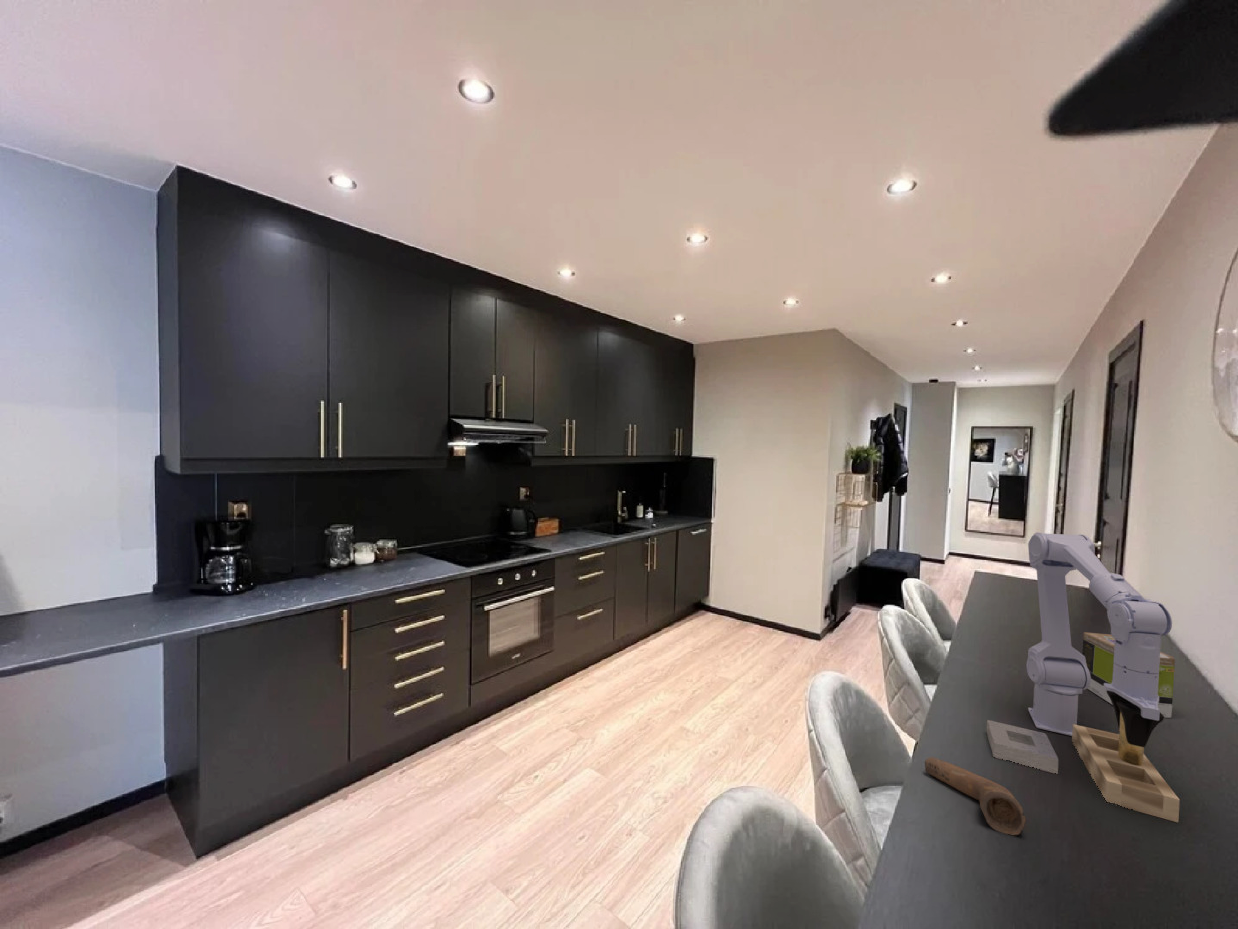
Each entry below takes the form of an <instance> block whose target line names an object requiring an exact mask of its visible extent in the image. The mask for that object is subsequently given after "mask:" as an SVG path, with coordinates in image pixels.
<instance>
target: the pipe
mask: <svg viewBox="0 0 1238 929" xmlns="http://www.w3.org/2000/svg"><path fill="white" fill-rule="evenodd" d="M924 768H925V771H926V772H927V773H928V774H929V775H930V776H932V777H934V778H935V779H937V780H939V781H941V782H943V783H945V784H947V785H948V786H950V787H952V788H954V789H955V790H957V791H959V792H960V793H962V794H965V795H966V796H969V797H971V798H973V799H975V800H976V801H979V808H980V810H981V811H982V814H983V815H984V818H985V821H986V823H987V824H988V825H989V826H990V828H992V830H994V831H996V832H998V831H999V832H998V833H1000V832H1002V833H1001V834H1004V833H1005V834H1004V835H1007V834H1010V835H1009V836H1018V835H1020V834H1021V832H1022V831H1023V829H1024V828H1025V826H1026V823H1027V817H1026V815H1025V813H1024V809H1023V806H1022V805H1021V804H1020V802H1019V801H1018V800H1017V799H1016V797H1015V796H1014V794H1013V793H1012V792H1011V791H1010V790H1008V789H1007V788H1006V787H1005V786H1003V785H1001V784H999V783H997V782H994V781H992V780H990V779H988V778H985V777H983V776H981V775H978V774H976V773H974V772H971V771H970V770H967V769H965V768H962V767H960V766H958V765H956V764H952V763H950V762H947V761H945V760H941V759H938V758H937V757H933V756H931V757H928V758H927V759H926V760H924Z"/></svg>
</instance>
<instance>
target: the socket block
mask: <svg viewBox="0 0 1238 929" xmlns="http://www.w3.org/2000/svg"><path fill="white" fill-rule="evenodd" d="M986 735H987V739H988V743H989V746H990V749H991V750H990V751H991V753H992V756H993V758H994V757H995V759H999V760H1002V759H1003V760H1002V761H1006V760H1010V761H1012V762H1011V763H1013V762H1015V764H1017V763H1019V764H1018V765H1021V764H1022V765H1021V766H1024V765H1025V767H1028V766H1029V767H1030V768H1032V767H1034V768H1033V769H1036V768H1037V769H1036V770H1039V769H1040V770H1041V771H1044V772H1048V773H1052V774H1055V773H1056V774H1055V775H1058V774H1059V757H1058V755H1057V753H1056V752H1055V749H1054V748H1053V745H1052V744H1051V741H1050V740H1049V736H1048V734H1047V733H1044V732H1041V731H1038V730H1037V731H1036V730H1032V729H1028V728H1025V727H1024V728H1023V727H1020V726H1016V725H1012V724H1011V725H1010V724H1007V723H1004V722H1003V723H1002V722H997V721H994V720H989V719H987V721H986Z"/></svg>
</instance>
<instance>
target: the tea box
mask: <svg viewBox="0 0 1238 929" xmlns="http://www.w3.org/2000/svg"><path fill="white" fill-rule="evenodd" d="M1114 646H1115V638H1113V637H1112V634H1111V633H1109V634H1108V633H1097V632H1096V633H1095V632H1085V631H1084V632H1083V638H1082V653H1081V654H1082V655H1084V656H1085V659H1086V664H1087V667H1088V670H1089V672H1090V676H1091V682H1090V685H1089V687H1088V688H1087V689H1086V690H1089V691H1091V692H1092V693H1093V694H1095V695H1097V697H1099V698H1101V699H1103V700H1104V701H1106V702H1108V703H1109V704H1110V705H1112V706H1113V704H1112V702H1111V700H1110V697H1109V696H1108V694H1107V692H1106V691H1107V690H1106V689H1105V688H1104V683H1108V684H1111V683H1112V679H1113V664H1114ZM1175 668H1176V658H1175V657H1173V656H1171V655H1169V654H1167V653H1165V652H1163V651H1160V664H1159V681H1158V696H1159V703H1158V709H1159V710H1160V713H1161V714H1162V715H1163V716H1164V719H1166V718H1167V719H1168V718H1169V719H1170V718H1172V714H1173V701H1174V700H1173V699H1174V685H1175V684H1174V681H1175Z"/></svg>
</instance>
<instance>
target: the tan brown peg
mask: <svg viewBox="0 0 1238 929" xmlns="http://www.w3.org/2000/svg"><path fill="white" fill-rule="evenodd" d="M1118 730H1119V732H1118V734H1119V747H1118V757H1119V758H1120V759H1121V760H1122V761H1124V762H1126V763H1129V764H1132V765H1136V766H1142V765H1143V758H1144V755H1145V753H1144V752H1145V747H1140V746H1136V745H1131V744H1129V743H1128V742H1127V739H1126V734H1125V725H1124V720H1123V717H1122V714H1121V711H1120V728H1118Z"/></svg>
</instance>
